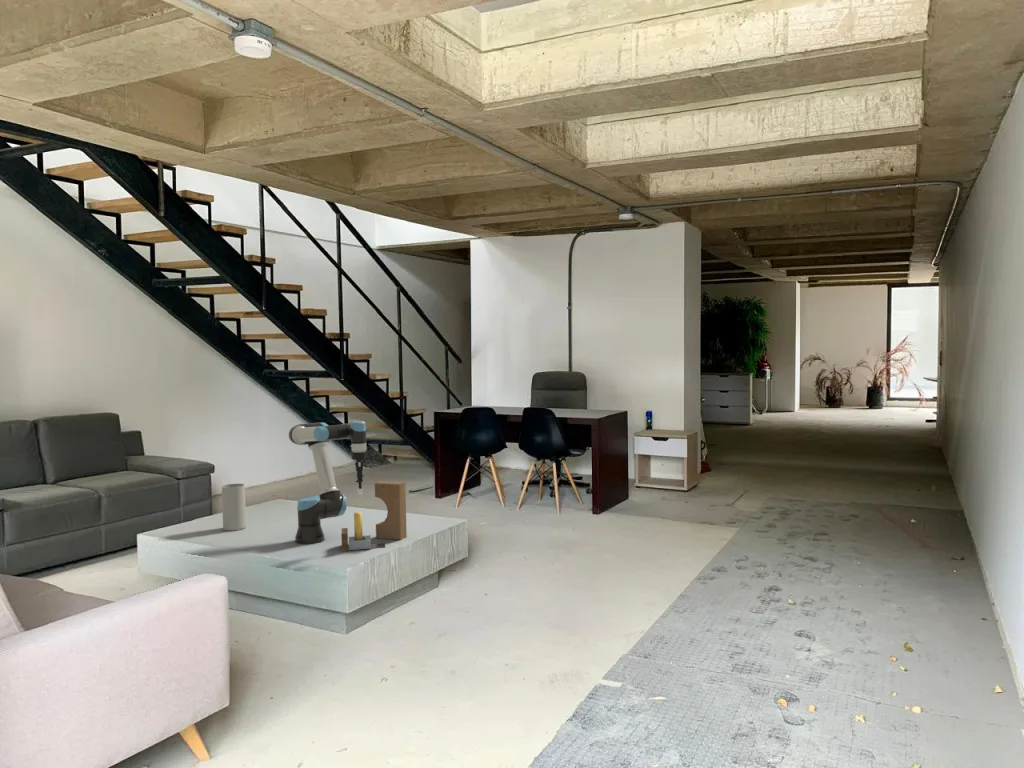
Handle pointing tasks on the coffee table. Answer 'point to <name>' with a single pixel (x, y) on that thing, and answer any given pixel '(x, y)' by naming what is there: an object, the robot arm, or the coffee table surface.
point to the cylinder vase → (233, 507)
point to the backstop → (344, 539)
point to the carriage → (360, 543)
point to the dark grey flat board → (376, 545)
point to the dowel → (358, 525)
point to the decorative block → (392, 510)
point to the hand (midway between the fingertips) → (360, 492)
